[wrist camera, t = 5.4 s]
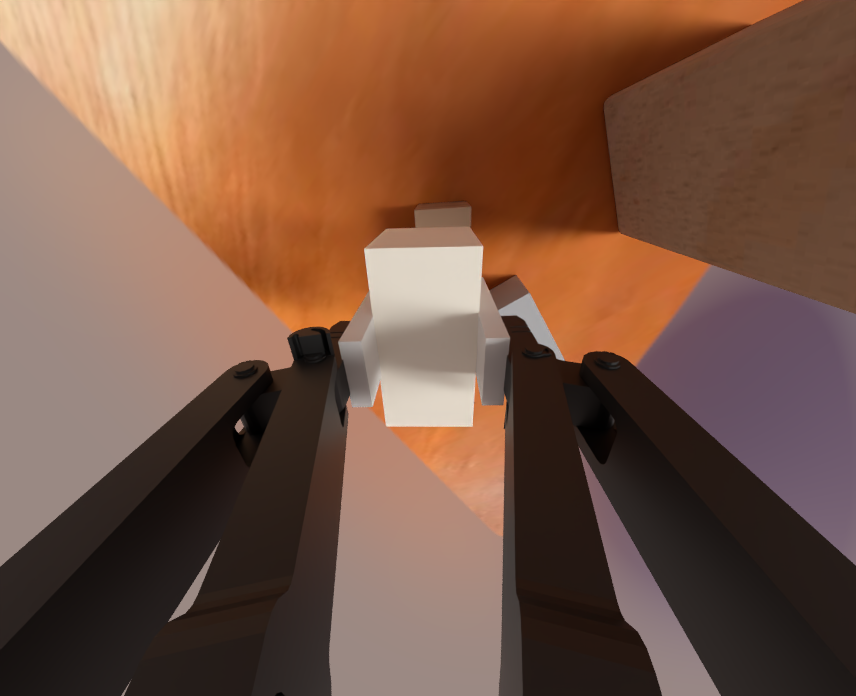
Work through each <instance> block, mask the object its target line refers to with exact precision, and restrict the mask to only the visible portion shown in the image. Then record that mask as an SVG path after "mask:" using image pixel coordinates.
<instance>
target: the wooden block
mask: <svg viewBox="0 0 856 696" xmlns="http://www.w3.org/2000/svg"><path fill="white" fill-rule="evenodd" d="M604 115H605V123H606V131H607V139H608V147H609V155H610V163H611V172H612V180H613V188H614V196H615V204H616V212H617V220H618V228H619V231H620V233H621V234H624V235H626V236H629V237H632V238H635V239H638V240H641V241H644V242H647V243H650V244H653V245H656V246H659V247H662V248H664V249H667V250H670V251H673V252H676V253H679V254H682V255H685V256H688V257H691V258H694V259H697V260H700V261H702V262H705V263H708V264H711V265H714V266H717V267H720V268H723V269H726V270H729V271H732V272H735V273H738V274H740V275H743V276H746V277H749V278H753V279H755V280H758V281H761V282H764V283H767V284H770V285H773V286H776V287H778V288H781V289H784V290H787V291H791V292H793V293H796V294H799V295H802V296H805V297H808V298H811V299H814V300H817V301H820V302H822V303H825V304H828V305H831V306H834V307H837V308H840V309H843V310H846V311H849V312H852V313H855V314H856V0H804V1H801V2H799V3H797V4H795V5H793V6H791V7H789V8H786V9H784V10H782V11H780V12H778V13H776V14H774V15H772V16H769V17H767V18H765V19H763V20H761V21H759V22H757V23H755V24H753V25H751V26H749V27H747V28H745V29H743V30H741V31H739V32H737V33H735V34H733V35H731V36H729V37H727V38H725V39H723V40H721V41H719V42H717V43H715V44H713V45H711V46H709V47H707V48H705V49H703V50H701V51H699V52H697V53H695V54H693V55H691V56H689V57H687V58H685V59H683V60H681V61H679V62H677V63H675V64H673V65H671V66H669V67H667V68H665V69H663V70H661V71H659V72H657V73H655V74H653V75H651V76H649V77H647V78H645V79H643V80H641V81H639V82H637V83H635V84H633V85H631V86H629V87H627V88H625V89H623V90H621V91H619V92H617V93H615V94H613V95H611V96H610V97H609V98H608V99H607V100H606V101H605V102H604Z"/></svg>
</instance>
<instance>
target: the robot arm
mask: <svg viewBox="0 0 856 696" xmlns="http://www.w3.org/2000/svg"><path fill="white" fill-rule="evenodd" d="M287 339H288V342H289V345H290V348H291V352H292V355H293V358H294V361H293V364H292V366H291V367H290V368H285V369H280V370H275V371H270V369H269V366H268V363H266V362H265V361H261V360H254V361H246V362H241V363H239V364H238V365H236V366H233V367H232V368H230V369H228V370H227V371H226V372H225V373H224V374H222V375H221V376H220V377H219V378H218V379H216V380H215V381H214V382H213V383H212V384H211V385H209V386H208V387H207V388H206V389H205V390H204V391H203V392H201V393H200V394H199V395H198V396H197V397H196V398H195V399H194V400H192V401H191V402H190V403H189V404H188V405H186V406H185V407H184V408H183V409H182V410H181V411H180V412H178V413H177V414H176V415H175V416H174V417H173V418H171V419H170V420H169V421H168V422H167V423H166V424H164V425H163V426H162V427H161V428H160V429H159V430H158V431H156V432H155V433H154V434H153V435H152V436H151V437H149V438H148V439H147V440H146V441H145V442H144V443H143V444H141V445H140V446H139V447H138V448H137V449H136V450H134V451H133V452H132V453H131V454H130V455H129V456H128V457H126V458H125V459H124V460H123V461H122V462H121V463H119V464H118V465H117V466H116V467H115V468H114V469H113V470H111V471H110V472H109V473H108V474H107V475H106V476H104V477H103V478H102V479H101V480H100V481H99V482H98V483H96V484H95V485H94V486H93V487H92V488H91V489H90V490H88V491H87V492H86V493H85V494H84V495H83V496H81V497H80V498H79V499H78V500H77V501H76V502H74V504H72V505H71V506H70V507H69V508H68V509H67V510H65V511H64V512H63V513H62V514H61V515H59V516H58V517H57V518H56V519H55V520H54V521H53V522H51V523H50V524H49V525H48V526H47V527H46V528H45V529H43V530H42V531H41V532H40V533H39V534H38V535H36V536H35V537H34V538H33V539H32V540H31V541H29V542H28V543H27V544H26V545H25V546H24V547H23V548H21V549H20V550H19V551H18V552H17V553H16V554H14V556H12V557H11V558H10V559H9V560H7V561H6V562H5V563H4V564H3V565H2V566H1V567H0V696H121V695H122V693H123V692H124V690H125V689H126V687H127V685H128V684H129V682H130V681H131V682H130V684H129V686H128V688H127V691H126V693H125V695H124V696H331V676H330V668H329V643H330V631H331V619H332V607H333V595H334V582H335V571H336V559H337V546H338V534H339V522H340V510H341V498H342V486H343V473H344V462H345V450H346V438H347V426H348V411H347V407H346V403H347V401H348V398H349V396H350V399H351V404H352V407H373V404H374V400H375V397H376V393H377V390H378V386H379V383H380V379H381V368H380V361H379V354H378V347H377V340H376V333H375V326H374V319H373V316H372V308H371V300H370V292H368V293H367V295H366V297H365V298H364V300H363V302H362V303H361V305H360V307H359V308H358V310H357V312H356V313H355V315H354V317H353V318H352V320H351V321H340V322H338V323H337V324H335V325H333V326H332V327H331V328H330V330H328V329H327V328H324V327H309V328H304V329H301V330H298V331H296V332H294V333H292V334H291V335H290V336H289V337H288V338H287ZM476 376H477V382H478V387H479V392H480V397H481V403H482V405H503V403H504V393H505V396H506V400H507V404H506V413H505V422H504V429H505V472H504V528H503V584H502V586H503V587H502V640H501V642H502V643H501V645H502V646H501V669H500V683H499V696H662V694H661V690H660V687H659V684H658V680H657V676H656V673H655V670H654V668H653V665H652V662H651V659H650V656H649V653H648V651H647V648H646V646H645V644H644V642H643V641H642V639H641V637H640V635H639V633H638V632H637V631H636V630H635V629H634V628H633V627H632V626H630V625H629V624H628V623H627V622H626V621H625V620H624V618H623V616H622V614H621V612H620V609H619V606H618V603H617V599H616V595H615V591H614V587H613V583H612V579H611V575H610V571H609V567H608V563H607V559H606V555H605V551H604V547H603V543H602V540H601V535H600V531H599V527H598V523H597V519H596V515H595V511H594V507H593V503H592V499H591V495H590V491H589V487H588V483H587V479H586V475H585V471H584V467H583V463H582V459H581V455H580V451H579V448H580V449H581V451H582V453H583V455H584V456H585V458H586V460H587V462H588V463H589V465H590V467H591V469H592V471H593V472H594V474H595V476H596V478H597V479H598V481H599V483H600V484H601V486H602V488H603V490H604V491H605V493H606V495H607V497H608V499H609V500H610V502H611V504H612V506H613V507H614V509H615V511H616V513H617V514H618V516H619V517H620V519H621V521H622V523H623V525H624V526H625V528H626V530H627V532H628V534H629V535H630V537H631V539H632V541H633V542H634V544H635V546H636V547H637V549H638V551H639V553H640V555H641V556H642V558H643V560H644V562H645V563H646V565H647V567H648V569H649V570H650V572H651V574H652V576H653V577H654V579H655V581H656V583H657V584H658V586H659V588H660V590H661V591H662V593H663V595H664V597H665V598H666V600H667V602H668V603H669V605H670V607H671V609H672V611H673V612H674V614H675V616H676V617H677V619H678V621H679V623H680V625H681V626H682V628H683V629H684V631H685V633H686V635H687V637H688V639H689V640H690V642H691V644H692V646H693V647H694V649H695V651H696V653H697V654H698V656H699V658H700V660H701V661H702V663H703V665H704V667H705V668H706V670H707V672H708V674H709V675H710V677H711V679H712V680H713V682H714V684H715V686H716V688H717V689H718V691H719V693H720V694H721V696H856V566H855V565H854V564H853V563H852V562H851V561H850V560H849V559H848V558H847V557H846V556H844V555H843V554H842V553H841V552H840V551H839V550H838V549H837V548H836V547H834V546H833V545H832V544H831V543H830V542H829V541H828V540H826V538H824V537H823V536H822V535H821V534H820V533H819V532H818V531H817V530H816V529H814V528H813V527H812V526H811V525H810V524H809V523H808V522H806V521H805V520H804V519H803V518H802V517H801V516H800V515H799V514H797V512H796V511H794V510H793V509H792V508H791V507H790V506H789V505H788V504H787V503H786V502H784V501H783V500H782V499H781V498H780V497H779V496H778V495H777V494H776V493H774V492H773V491H772V490H771V489H770V488H769V487H768V486H767V485H766V484H765V483H763V482H762V481H761V480H760V479H759V478H758V477H757V476H756V475H755V474H753V473H752V472H751V471H750V470H749V469H748V468H747V467H746V466H745V465H743V464H742V463H741V462H740V461H739V460H738V459H737V458H736V457H735V456H733V455H732V454H731V453H730V452H729V451H728V450H727V449H726V448H725V447H723V446H722V445H721V444H720V443H719V442H718V441H717V440H716V439H715V438H714V437H712V436H711V435H710V434H709V433H708V432H707V431H706V430H705V429H703V428H702V427H701V426H700V425H699V424H698V423H697V422H696V421H695V420H694V419H692V418H691V417H690V416H689V415H688V414H687V413H686V412H685V411H684V410H682V409H681V408H680V407H679V406H678V405H677V404H676V403H675V402H674V401H672V400H671V399H670V398H669V397H668V396H667V395H666V394H665V393H664V392H663V391H661V390H660V389H659V388H658V387H657V386H656V385H655V384H654V383H653V382H651V381H650V380H649V379H648V378H647V377H646V376H645V375H644V374H642V373H641V372H640V371H639V370H638V369H637V368H636V367H635V366H634V365H633V364H632V363H630V362H629V361H628V360H626V359H625V358H623V357H621V356H618V355H616V354H614V353H611V352H610V353H609V352H605V351H603V352H598V351H596V352H589V353H587V354H585V355H584V357H583V360H582V364H581V363H574V362H568V361H563V360H559V359H556V355H555V353H554V351H553V350H552V349H550V348H549V347H547V346H545V345H542V344H538V342H537V340H536V339H535V337H534V335H533V334H532V332H531V330H530V329H529V327H528V325H527V324H526V322H525V320H523V319H522V318H520V317H518V316H517V315H513V316H500V314H499V312H498V309H497V307H496V305H495V303H494V300H493V298H492V296H491V294H490V291H489V289H488V287H487V285H486V282H485V280H484V278H483V277H481V291H480V308H479V313H478V336H477V359H476ZM239 419H241V421H242V423H243V425H244V428H243V429H242V430H241V431H240V432H239V433H238V432H237V431H236V429H235V425H236V423H237V421H238V420H239ZM578 446H579V447H578ZM219 541H220V542H219ZM218 542H219V545H218V547H217V549H216V552H215V554H214V557H213V559H212V562H211V564H210V566H209V569H208V571H207V574H206V576H205V579H204V581H203V583H202V586H201V589H200V591H199V593H198V596H197V597H196V599H195V601H194V604H193V605H192V606H191V608H190V609H189V610H188V611H187V612H186V613H185V614H183V615H181V616H179V617H177V618H176V619H174V620H172V621H170V622H168V621H169V619H170V618H171V616H172V615H173V613H174V611H175V610H176V608H177V607H178V605H179V604H180V602H181V601H182V599H183V597H184V596H185V594H186V593H187V591H188V590H189V588H190V586H191V585H192V583H193V582H194V580H195V579H196V577H197V575H198V574H199V572H200V571H201V569H202V568H203V566H204V564H205V563H206V561H207V560H208V558H209V556H210V555H211V553H212V552H213V550H214V549H215V547H216V545H217V544H218ZM131 679H132V680H131Z"/></svg>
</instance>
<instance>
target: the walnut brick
mask: <svg viewBox="0 0 856 696" xmlns="http://www.w3.org/2000/svg"><path fill="white" fill-rule="evenodd" d="M414 214H415V227H416V228H434V227H470V228H471V206H470V205H469V204H468V203H467V202H466V201H455V202H440V203H425V204H418V205H417V207H416V208H415V210H414Z"/></svg>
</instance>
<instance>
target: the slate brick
mask: <svg viewBox="0 0 856 696" xmlns="http://www.w3.org/2000/svg"><path fill="white" fill-rule="evenodd" d="M489 291H490V294H491V296H492V298H493V300H494V303H495V305H496V307H497V309H498V312H499V314H500V316H513V315H517V316H518V317H520V318H522V319H523V320H525V322H526V324H527V325H528V327H529V329H530V330H531V332H532V334H533V335H534V337H535V339H536V340H537V342H538V344H542V345H545V346H547V347H549V348H550V349H552V350H553V351H554V353H555V355H556V359H559V360H563V361H565V360H564V358H563V356H562V354H561V352H560V350H559V348H558V347H557V345H556V343H555V341H554V339H553V337H552V335H551V333H550V331H549V329H548V327H547V325H546V324H545V322H544V320H543V318H542V316H541V314H540V312H539V310H538V308H537V306H536V304H535V303H534V301H533V299H532V297H531V295H530V293H529V292H528V290H527V289H526V288H525V286H524V285H523V283H522V282H521V281H520V279H519V278H518V277H517V275H515V276H513V277H511V278H510V279H508V280H506V281H505V282H503V283H501V284H500V285H498V286H496V287H494V288H493V289H491V290H489Z"/></svg>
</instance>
